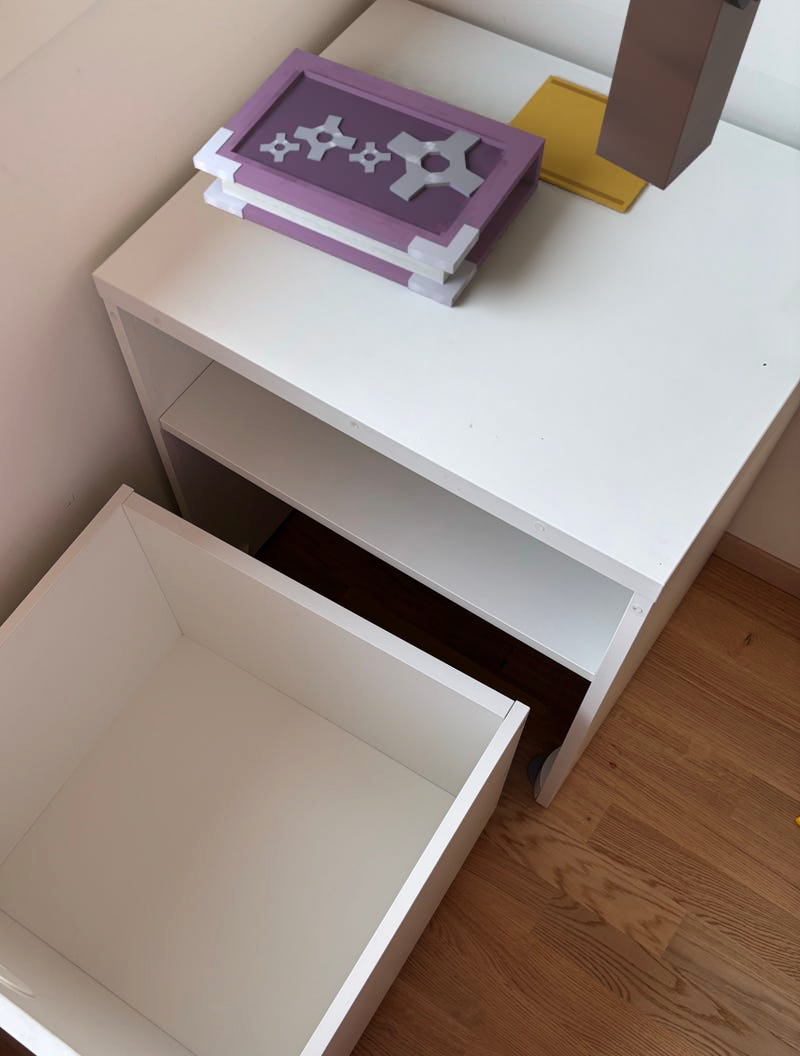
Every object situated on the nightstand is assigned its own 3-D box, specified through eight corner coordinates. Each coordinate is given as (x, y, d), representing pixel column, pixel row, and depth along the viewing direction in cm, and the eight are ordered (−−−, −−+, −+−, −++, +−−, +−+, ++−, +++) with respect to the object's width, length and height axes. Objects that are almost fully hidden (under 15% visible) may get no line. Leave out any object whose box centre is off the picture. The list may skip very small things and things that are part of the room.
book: (202, 205, 90) (192, 157, 85) (298, 96, 95) (294, 46, 90) (449, 310, 83) (453, 265, 79) (538, 187, 88) (547, 138, 84)
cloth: (686, 130, 90) (687, 126, 90) (623, 213, 86) (624, 210, 86) (550, 77, 94) (550, 74, 94) (484, 155, 90) (484, 152, 90)
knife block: (642, 109, 69) (712, -156, 54) (711, 144, 67) (802, -119, 52) (594, 154, 67) (653, -105, 52) (663, 191, 65) (743, -66, 51)
